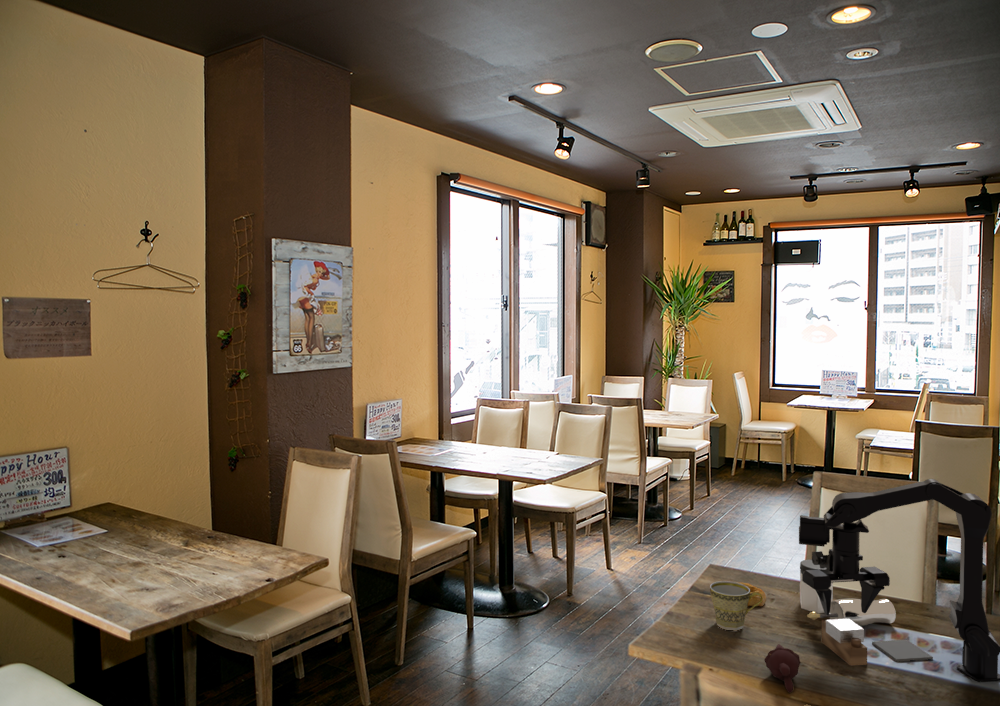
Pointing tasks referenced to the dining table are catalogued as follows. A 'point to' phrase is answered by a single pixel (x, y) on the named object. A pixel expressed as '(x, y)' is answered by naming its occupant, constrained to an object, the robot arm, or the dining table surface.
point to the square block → (844, 630)
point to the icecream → (783, 665)
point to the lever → (821, 615)
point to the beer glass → (852, 610)
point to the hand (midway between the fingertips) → (845, 613)
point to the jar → (811, 589)
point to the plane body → (846, 648)
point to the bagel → (755, 598)
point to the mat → (902, 650)
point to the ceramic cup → (731, 603)
